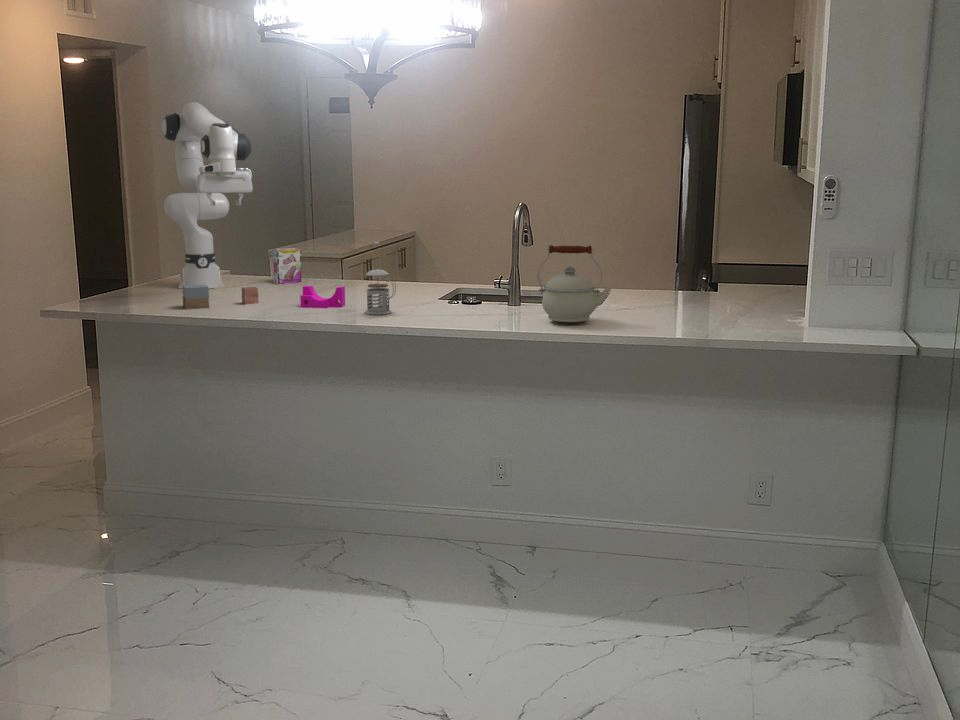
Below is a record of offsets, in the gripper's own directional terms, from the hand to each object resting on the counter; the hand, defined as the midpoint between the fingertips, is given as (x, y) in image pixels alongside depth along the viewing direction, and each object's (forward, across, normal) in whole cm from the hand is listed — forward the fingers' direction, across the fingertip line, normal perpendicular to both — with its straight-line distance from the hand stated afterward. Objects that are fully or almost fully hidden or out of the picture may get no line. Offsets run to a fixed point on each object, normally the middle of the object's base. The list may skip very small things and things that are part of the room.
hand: (225, 205), depth 353 cm
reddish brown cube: (+37, -6, +8) cm, 38 cm away
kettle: (+39, -97, +91) cm, 139 cm away
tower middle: (+33, +14, +8) cm, 37 cm away
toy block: (+38, -28, +27) cm, 54 cm away
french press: (+38, -43, +49) cm, 76 cm away
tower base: (+37, +14, +9) cm, 41 cm away
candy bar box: (+36, -30, -34) cm, 58 cm away
